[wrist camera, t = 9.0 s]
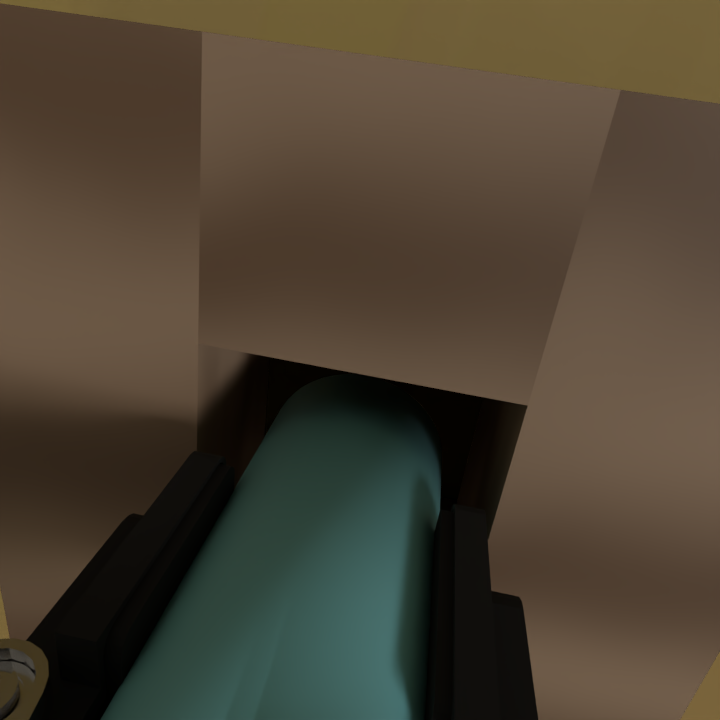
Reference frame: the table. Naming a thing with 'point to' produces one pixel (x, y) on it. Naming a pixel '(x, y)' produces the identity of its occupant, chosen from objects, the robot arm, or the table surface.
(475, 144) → the socket block
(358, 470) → the peg
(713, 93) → the table surface
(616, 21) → the table surface
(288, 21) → the table surface
